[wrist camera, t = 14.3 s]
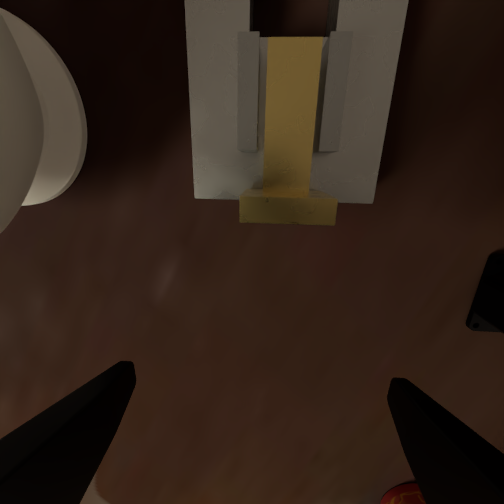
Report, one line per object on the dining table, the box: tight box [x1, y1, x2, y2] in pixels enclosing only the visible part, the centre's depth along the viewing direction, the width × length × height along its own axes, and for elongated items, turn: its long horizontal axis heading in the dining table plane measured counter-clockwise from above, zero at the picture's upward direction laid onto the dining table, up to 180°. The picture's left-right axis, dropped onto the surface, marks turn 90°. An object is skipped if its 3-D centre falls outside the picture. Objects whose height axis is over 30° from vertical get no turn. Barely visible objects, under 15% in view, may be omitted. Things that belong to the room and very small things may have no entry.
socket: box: [185, 0, 409, 203], centre depth 14 cm, size 11×16×5 cm
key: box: [240, 37, 338, 225], centre depth 12 cm, size 4×8×4 cm, turn 179°
